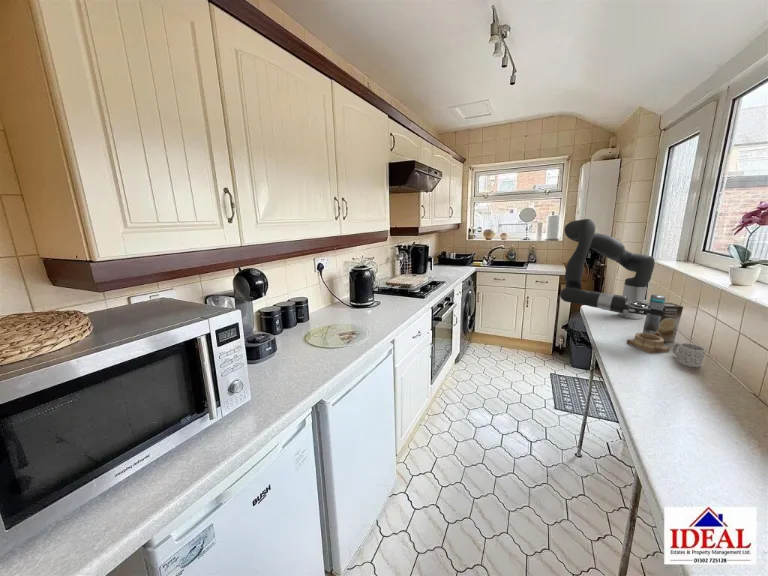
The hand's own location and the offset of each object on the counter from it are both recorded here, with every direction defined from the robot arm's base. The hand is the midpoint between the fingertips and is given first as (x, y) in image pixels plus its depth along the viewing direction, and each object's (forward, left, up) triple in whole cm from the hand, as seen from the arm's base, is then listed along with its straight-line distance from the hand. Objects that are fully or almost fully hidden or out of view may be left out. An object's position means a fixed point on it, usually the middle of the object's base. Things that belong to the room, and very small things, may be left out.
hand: (663, 312), depth 119 cm
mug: (-1, +10, -16) cm, 19 cm away
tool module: (+2, -2, -8) cm, 8 cm away
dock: (+1, -2, -16) cm, 16 cm away
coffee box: (-11, -9, -16) cm, 22 cm away
